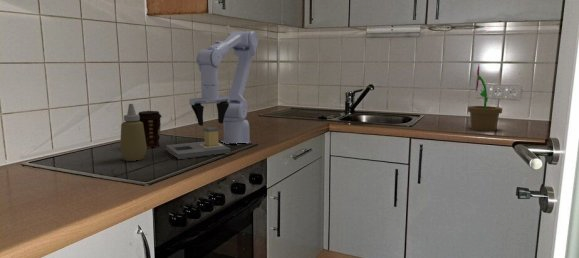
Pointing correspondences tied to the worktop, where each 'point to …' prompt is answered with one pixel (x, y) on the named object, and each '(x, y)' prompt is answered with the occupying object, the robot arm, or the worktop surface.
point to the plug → (211, 136)
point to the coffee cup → (151, 127)
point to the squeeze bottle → (132, 136)
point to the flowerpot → (483, 112)
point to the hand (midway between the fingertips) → (210, 124)
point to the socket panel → (195, 149)
